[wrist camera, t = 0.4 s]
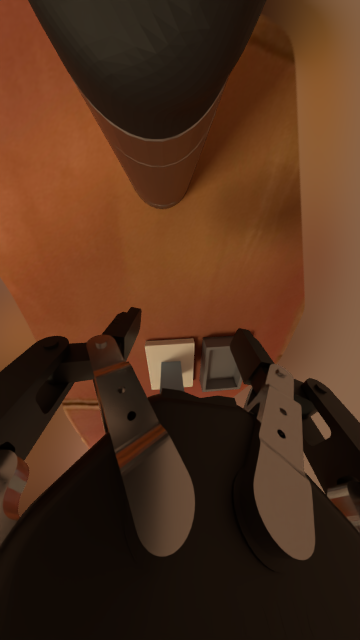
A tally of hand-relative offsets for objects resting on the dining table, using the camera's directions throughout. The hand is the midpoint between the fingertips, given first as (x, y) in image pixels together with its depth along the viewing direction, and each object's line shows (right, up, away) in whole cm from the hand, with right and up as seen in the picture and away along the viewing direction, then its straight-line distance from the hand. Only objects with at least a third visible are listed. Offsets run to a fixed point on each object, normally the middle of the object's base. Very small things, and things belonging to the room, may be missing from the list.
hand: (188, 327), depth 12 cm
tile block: (-3, -12, +26) cm, 29 cm away
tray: (+11, -11, +29) cm, 33 cm away
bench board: (-3, -11, +28) cm, 30 cm away
